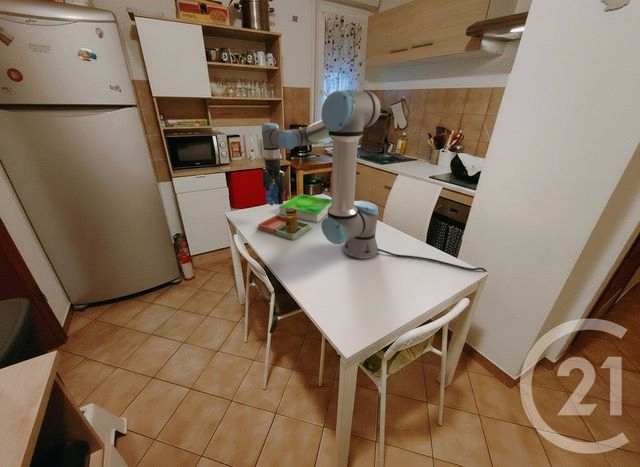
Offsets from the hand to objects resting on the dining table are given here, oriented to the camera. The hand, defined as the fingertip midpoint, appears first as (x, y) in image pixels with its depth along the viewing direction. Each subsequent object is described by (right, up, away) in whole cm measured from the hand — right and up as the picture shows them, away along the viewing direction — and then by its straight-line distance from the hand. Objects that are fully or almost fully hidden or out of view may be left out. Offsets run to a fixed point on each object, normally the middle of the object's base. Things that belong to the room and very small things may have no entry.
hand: (275, 202), depth 138 cm
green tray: (+9, -15, 0) cm, 18 cm away
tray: (+16, -2, +24) cm, 29 cm away
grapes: (0, -1, +1) cm, 1 cm away
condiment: (+9, -15, 0) cm, 18 cm away
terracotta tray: (-1, -12, +5) cm, 13 cm away
